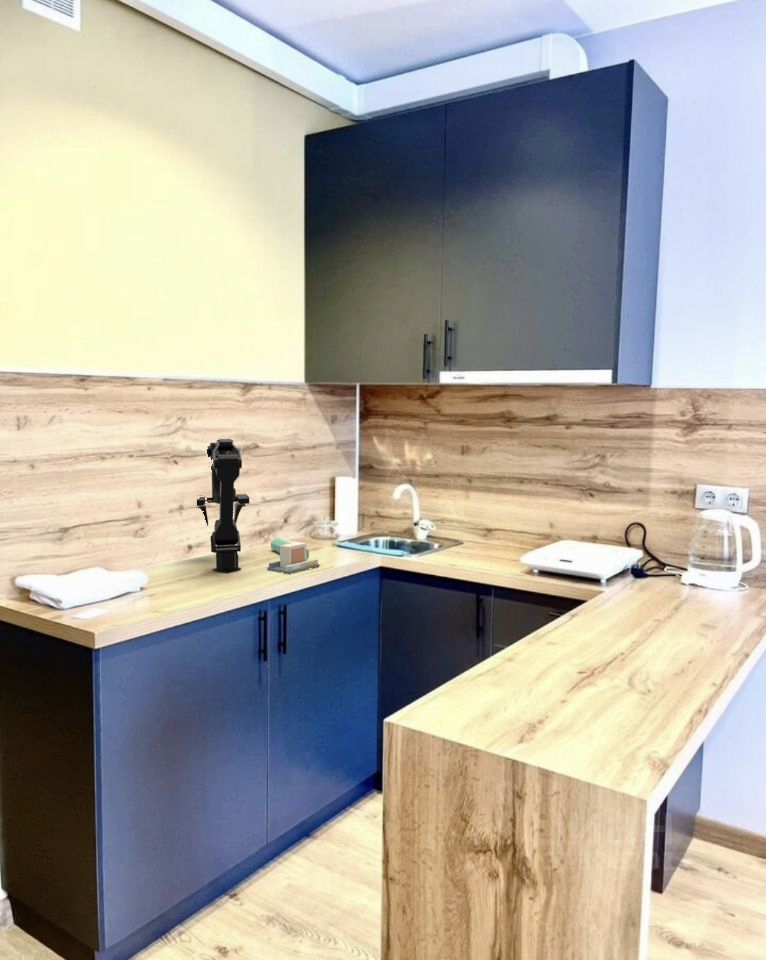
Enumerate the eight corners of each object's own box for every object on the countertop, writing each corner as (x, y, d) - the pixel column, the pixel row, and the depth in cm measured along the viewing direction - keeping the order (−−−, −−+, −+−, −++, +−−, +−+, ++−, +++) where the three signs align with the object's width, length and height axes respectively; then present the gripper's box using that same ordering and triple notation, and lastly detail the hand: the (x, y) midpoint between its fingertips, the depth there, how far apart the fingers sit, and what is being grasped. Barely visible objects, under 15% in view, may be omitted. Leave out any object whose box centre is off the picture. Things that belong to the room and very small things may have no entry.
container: (270, 534, 274) (296, 544, 252) (285, 538, 277) (312, 549, 255) (265, 549, 274) (290, 560, 252) (279, 554, 276) (306, 565, 255)
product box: (280, 567, 242) (279, 545, 241) (297, 562, 248) (297, 542, 248) (289, 568, 240) (289, 547, 239) (306, 564, 246) (306, 543, 245)
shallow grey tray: (289, 574, 236) (289, 566, 235) (267, 569, 242) (267, 562, 241) (319, 566, 247) (319, 559, 246) (297, 562, 253) (297, 555, 252)
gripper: (193, 482, 244) (194, 530, 246) (251, 480, 250) (252, 527, 251) (191, 479, 255) (192, 524, 256) (246, 477, 260) (247, 522, 262)
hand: (221, 525), depth 256 cm, fingers open, 9 cm apart
